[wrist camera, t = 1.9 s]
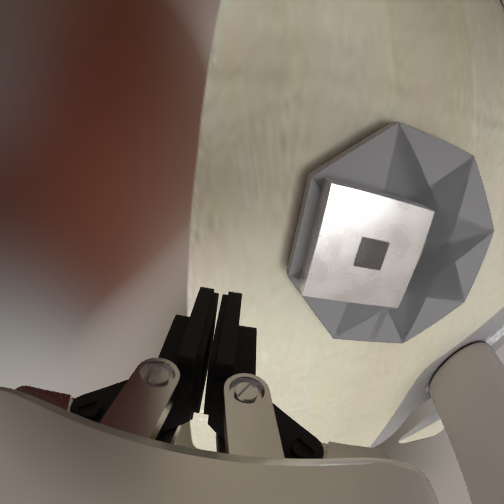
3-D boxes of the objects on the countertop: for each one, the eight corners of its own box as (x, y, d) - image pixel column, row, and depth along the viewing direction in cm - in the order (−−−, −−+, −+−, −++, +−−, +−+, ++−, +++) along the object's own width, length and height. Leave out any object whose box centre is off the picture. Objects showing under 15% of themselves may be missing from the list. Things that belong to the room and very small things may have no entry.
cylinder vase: (424, 367, 33) (484, 515, 10) (491, 326, 30) (571, 448, 7) (429, 405, 37) (470, 522, 14) (486, 370, 34) (541, 474, 12)
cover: (420, 203, 22) (435, 212, 19) (388, 293, 25) (398, 308, 23) (324, 177, 21) (332, 183, 19) (298, 280, 25) (302, 296, 23)
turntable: (500, 172, 21) (509, 176, 19) (435, 336, 29) (441, 344, 28) (322, 101, 20) (326, 99, 19) (273, 321, 29) (273, 331, 27)
